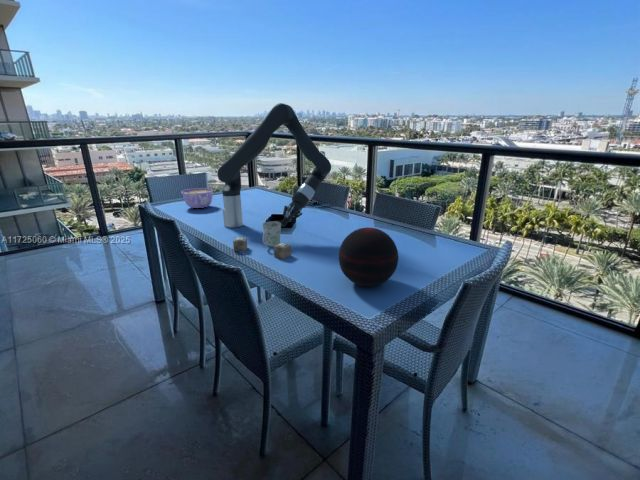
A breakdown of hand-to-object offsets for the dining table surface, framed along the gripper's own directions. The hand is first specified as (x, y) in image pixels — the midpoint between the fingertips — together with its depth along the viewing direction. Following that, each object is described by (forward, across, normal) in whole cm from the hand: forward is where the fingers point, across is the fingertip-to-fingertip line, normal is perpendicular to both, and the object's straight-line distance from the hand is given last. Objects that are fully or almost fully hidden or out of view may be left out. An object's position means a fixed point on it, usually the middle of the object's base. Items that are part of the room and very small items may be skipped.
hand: (282, 225), depth 150 cm
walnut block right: (+12, +14, 0) cm, 19 cm away
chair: (-34, -62, +47) cm, 85 cm away
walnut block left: (+20, -4, -8) cm, 22 cm away
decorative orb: (+5, +53, +7) cm, 54 cm away
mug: (+11, 0, +2) cm, 11 cm away
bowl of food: (+12, -94, +1) cm, 95 cm away
